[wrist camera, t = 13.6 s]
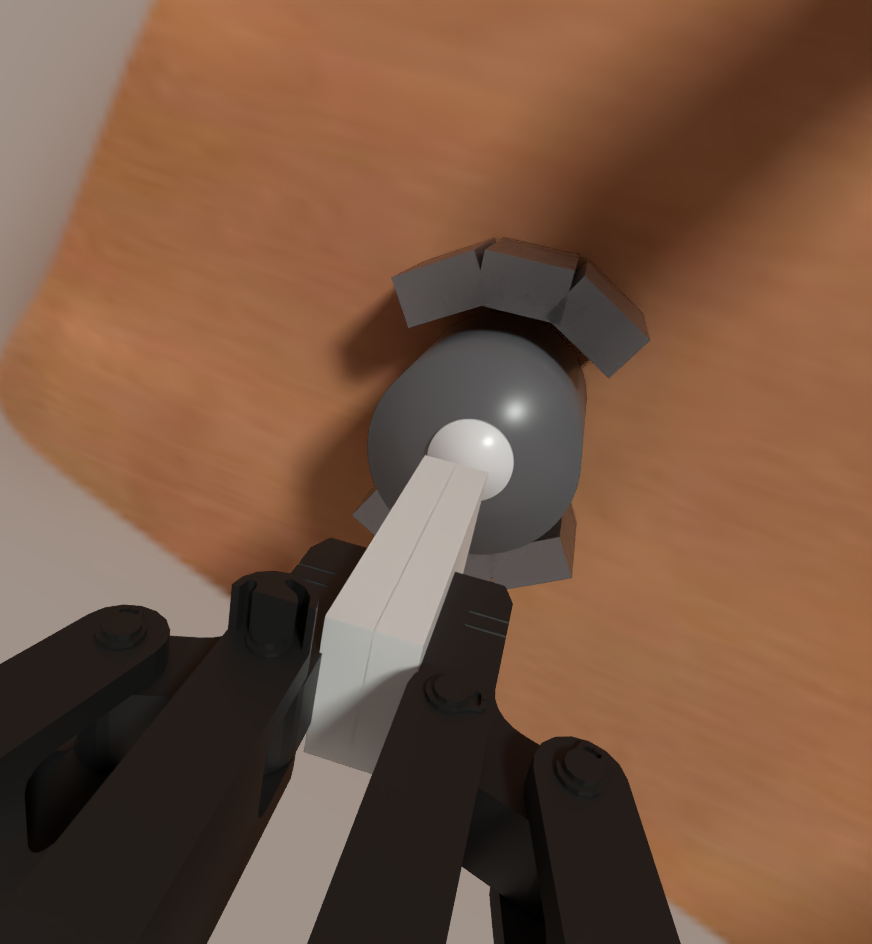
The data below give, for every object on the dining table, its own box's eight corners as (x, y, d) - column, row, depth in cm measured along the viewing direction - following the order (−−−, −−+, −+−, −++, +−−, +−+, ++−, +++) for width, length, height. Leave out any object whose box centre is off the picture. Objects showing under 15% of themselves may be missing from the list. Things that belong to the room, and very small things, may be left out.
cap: (434, 293, 24) (383, 329, 19) (608, 335, 24) (609, 386, 18) (404, 452, 27) (351, 526, 21) (560, 494, 26) (548, 581, 21)
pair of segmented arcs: (431, 220, 23) (399, 229, 20) (656, 272, 23) (665, 292, 19) (379, 500, 28) (346, 549, 24) (567, 552, 27) (560, 611, 23)
